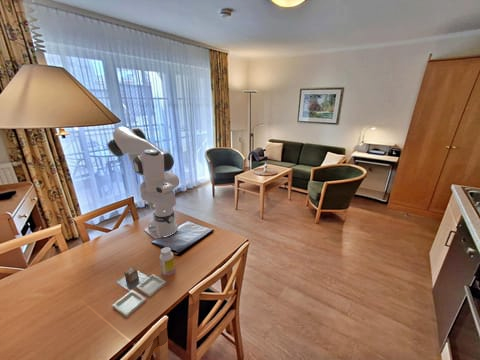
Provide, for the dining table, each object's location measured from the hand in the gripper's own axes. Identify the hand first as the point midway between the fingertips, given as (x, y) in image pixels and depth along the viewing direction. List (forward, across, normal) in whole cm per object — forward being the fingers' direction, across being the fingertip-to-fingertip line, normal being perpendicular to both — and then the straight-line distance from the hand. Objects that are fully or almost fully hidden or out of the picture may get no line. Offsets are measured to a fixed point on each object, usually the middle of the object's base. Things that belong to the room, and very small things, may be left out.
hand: (159, 211), depth 103 cm
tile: (+31, -5, -16) cm, 35 cm away
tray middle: (+31, +6, -14) cm, 35 cm away
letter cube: (+30, -5, -16) cm, 35 cm away
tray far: (+31, +6, -25) cm, 40 cm away
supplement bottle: (+31, +5, -3) cm, 32 cm away
